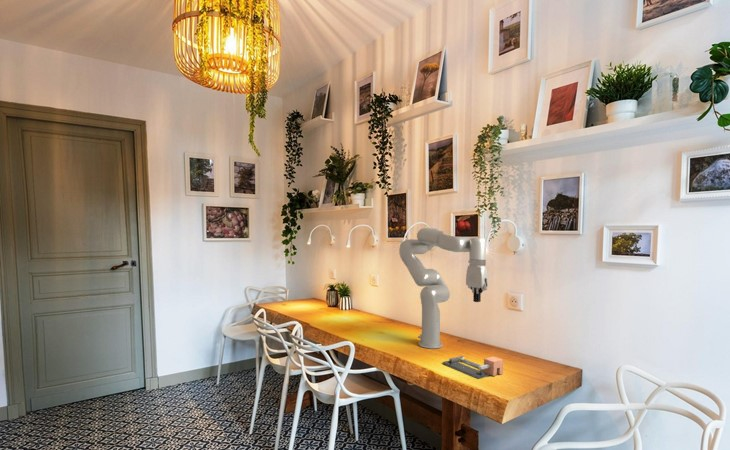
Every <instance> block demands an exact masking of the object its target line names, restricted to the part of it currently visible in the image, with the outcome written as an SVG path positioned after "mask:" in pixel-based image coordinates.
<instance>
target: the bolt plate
mask: <svg viewBox="0 0 730 450" xmlns="http://www.w3.org/2000/svg"><path fill="white" fill-rule="evenodd" d="M442 365H444V366H446V367H449V368H451V369H454V370H456V371H458V372H461V373H462V374H463V373H464V374H465V375H468V376H471V377H473V378H475V379H478V380H479V379H483V378H488V377H489V374H487V373H484V371H482V374H480V369H476V368H475V367H472V366H470V365H469V366H468V365H467V364H465V363H464V364H463V363H461V362H460V361H453V362H450V361H449V360H445V361H442Z"/></svg>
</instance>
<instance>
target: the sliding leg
mask: <svg viewBox="0 0 730 450" xmlns="http://www.w3.org/2000/svg"><path fill="white" fill-rule="evenodd" d="M482 369H484V370H482ZM478 370H479V371H480V374H482V372H484V373H487V374H489V375H490V376H492V377H496V376H497V375H503V374H504V359H503V358H499V357H496V356H489V357H486V358H483V364H482V365H481V366H479V368H478Z"/></svg>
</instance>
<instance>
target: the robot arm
mask: <svg viewBox="0 0 730 450" xmlns="http://www.w3.org/2000/svg"><path fill="white" fill-rule="evenodd" d="M434 247H436V248H437V247H438V248H439V249H441V250H445V251H448V252H449V251H450V252H454V253H468V254H469V257H468V258H469V259H468V265H467V269H466V275H465V276H466V277H465V285H466V286H467V288H468V289H470V290H471V292H472V294H473V302H475V303H479V302H480V303H481V302H482V301H481V298H482V297H481V296H482V293H483V292H485V291H487V290H488V288H487V287H488V286H489V276H488V269H487V266H486V264H487V263H486V259H487V257H486V256H487V255H486V254H487V252H486V251H487V250H486V249H487V248H486V247H487V241H486V238H485V237H471V236H456V235H455V236H453V235H448V234H447V233H446V231H442V230H439V229H438V228H430V227H425V228H420V229H419V230H418V231H417V233H416V238H415V239H411V238H410V239H405V240H403V241H402V242H401V243H400V245H399V250H398V251H399V253H398V254H399V257H400V259H401V261H402V262H403V264H404V265H405V267H406V268H407V271H408V272H409V274H410V275H411V276H410V277H411V278H412V280H413V281H414V283H415V284H416V285H417V286H418V287H423V288H422V289H421V291H420V293H419V295H420V296H419V297H420V302H421V303H420V304H421V333H420V334H419V335H418V336H417V339H420V341H418V345H419V347H422V348H423V349H424V348H425V349H432V350H433V349H440V348H442V347H443V343H442V342H441V341H440V340H441V338H440V336H441V335H440V334H441V333H440V332H441V331H440V330H441V327H440V325H441V310H440V307H439V304H440V303H445V302H447V301H448V300H449V299H450V295H451V294H450V293H451V292H450V290H449V287H448V285H447V284H446V282H445V281H444V279H443V277H442V276H441V274H440V272H438V270H436V269H434V268H426V267H425V266H424V264H423V263H422V261H421V260H420V259H419V258H418V257H417V256H416V255H424V254H427V253H428V252H429V251H430V250H432V249H433V248H434Z"/></svg>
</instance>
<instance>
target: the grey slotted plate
mask: <svg viewBox="0 0 730 450" xmlns="http://www.w3.org/2000/svg"><path fill="white" fill-rule="evenodd" d="M448 361H450V362H453V361H456V362H460V363H461V362H462V363H464V364H465V365H469V366H470V367H473V368H475V369H476V368H477V369H479V366H482V365H481V364H478V363H476V362H473V361H470V360H467V359H466V358H465V356H464V355H460V356H455V357H451V358H449V359H448ZM482 371H484V369H482Z"/></svg>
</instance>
